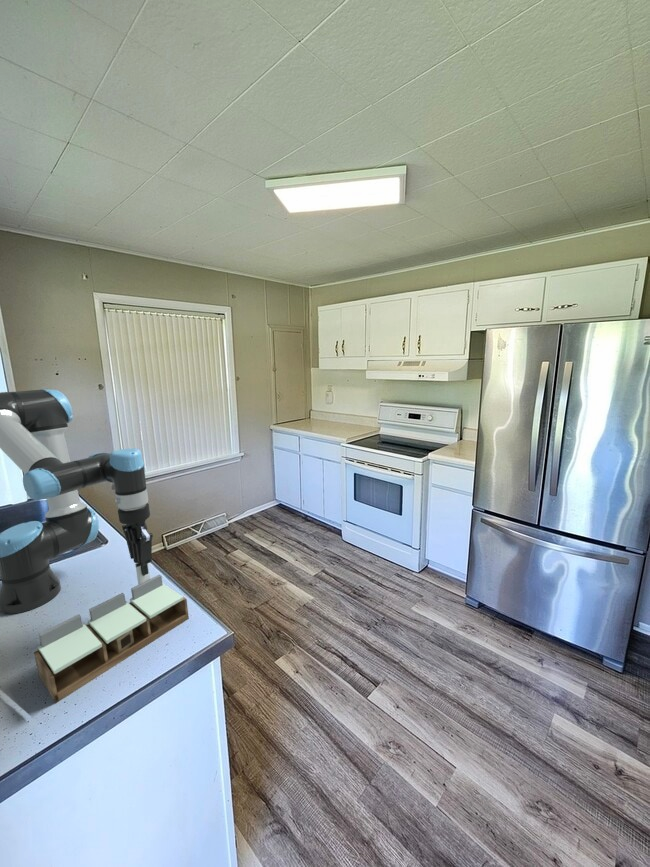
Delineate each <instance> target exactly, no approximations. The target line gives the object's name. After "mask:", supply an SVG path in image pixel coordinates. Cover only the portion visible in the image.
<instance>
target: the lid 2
mask: <svg viewBox="0 0 650 867" xmlns="http://www.w3.org/2000/svg"><path fill="white" fill-rule="evenodd" d="M129 603H130V602H128V601H127V600H126V595H125V594H124V592H121V593H119V594H117V595H115V596H113V597H111V598H109V599H106V600H105V601H103V602H101V603H98V604H97V605H94V606H92V607H90V608H89V609H88V611H89V612H88V613H89V615H90V616H89V617H90V619H88V620H87V625H88V624H89V625H90V626H91V627H92V628H93V629H94V630H95V631H96V632H97V633H98V634H99V636H100V637H101V638H102V639H103V640H104V641H105V642H106V643H107V644H108V643H109V642H111V641H113V640H114V639H116V638H118V637H120V636H121V635H123V634H125V633H126V632H128V631H130V630H132V629H133V628H135V627H137V626H139V625H140V624H142V623H144V622H145V621H146V618H145V617H144V616H143V615H142V614H141V613H139V612H138V611H137V610H136V609H135V608H134V607H132V606H131V605H130V604H129Z"/></svg>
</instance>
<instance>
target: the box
mask: <svg viewBox="0 0 650 867" xmlns="http://www.w3.org/2000/svg"><path fill="white" fill-rule="evenodd" d="M171 589H172V590H174V589H173V588H171ZM174 591H175V590H174ZM175 592H177V591H175ZM128 603H129V604H130V605H131V606H132V607H134V608H135V609H136V610H137V611H138V612H139V613H141V614H142V615H143V616H144V617H145V618H146V621H145V622H144V623H142V624H140V625H139V626H137V627H135V628H133V629H132V631H133V638H134V643H133V644H131V645H130V646H129V647H127V648H126V649H125V650H123V651H122V652H121V653H117V652H115V651H114V650H112V649H110V648H109V643H108V644H107V643H106V642H105V641H104V640H103V639H102V638H101V637H100V636H99V634H98V633H97V632H96V631H95V630H94V629H93V628H92V627H91V626H90V625H89V624H88V623H87V624H85V625H86V626H87V628H88V629H89V630H90V631H91V632H92V633H93V634H94V635H95V636H96V638H97V639H98V640H99V641H100V642H101V643H102V647H101V648H99V649H97V650H95V651H94V652H92V653H90V654H89V655H87V656H85V657H83V658H82V659H80V660H78V661H77V662H75V663H73V664H71V665H70V666H68V667H66V668H65V669H63V670H61V671H59V672H58V673H56V674H54V673H53V671H52V670H51V668H50V667H49V665H48V664H47V662H46V660H45V659H44V657H43V656H42V654H41V653H40V651H39V650H36V651H34V652H33V653H34V659H35V663H36V668H37V674H38V676H39V678H40V679H41V681H42V683H43V685H44V686H45V688H46V690H47V692H48V694H49V695H50V697H51V698H52V700H53V702H54V703H55V704H57V703H59V702H60V701H62V700H63V699H65V698H67V697H68V696H70V695H72V694H73V693H75V692H76V691H78V690H80V689H81V688H82V687H84V686H85V685H87V684H89V683H90V682H92V681H93V680H95V679H96V678H98V677H100V676H101V675H102V674H104V673H106V672H107V671H109V670H111V669H113V668H114V667H115V666H117V665H119V664H120V663H121V662H124V661H125V660H127V659H128V658H129V657H131V656H133V655H134V654H136V653H137V652H139V651H141V650H142V649H144V648H145V647H147V646H148V645H150V644H152V643H153V642H154V641H156V640H158V639H159V638H161V637H162V636H164V635H166V634H167V633H169V632H170V631H171V630H173V629H175V628H177V627H178V626H180V625H182V624H183V623H185V622H186V621H188V620H189V619H190V618H189V617H190V616H189V607H188V600H187V598H186V597H184V596H183V600H182V601H180V602H178V603H176V604H175V605H173V606H171V607H170V608H168V609H166V610H164V611H163V612H161V613H159V614H157V615H156V616H154V617H152V618H151V619H150V618H149V617H148V616H147V615H145V614H144V613H143V612H142V611H141V610H140V609H138V608H137V607H136V606H135V605H134V604H132V603H131V602H130V601H129V602H128Z"/></svg>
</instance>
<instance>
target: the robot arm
mask: <svg viewBox="0 0 650 867" xmlns="http://www.w3.org/2000/svg"><path fill="white" fill-rule="evenodd" d="M73 414H74V412H73V408H72V405H71V402H70V401H69V399H68V398H67V396H66V395H64V393H62V392H61V391H60V390H57V389H44V388H43V389H42V388H41V389H34V390H32V389H31V390H20V391H19V390H18V391H2V392H0V450H1V451H2V452H3V453H4V454H5V455H6V456H7V457H8V458H9V459H10V460H11V461H12V462H13V464H15V465H16V466H17V467H18V469H20V470H21V471H22V473H23V474H24V475H23V477H22V484H23V485H22V486H23V488H24V491H25V492H26V495H27V497H28V498H30V499H31V500H34V501H41V500H45V499H46V502H47V506H48V511H47V512H46V513H45V515H44V518H45V521H44V522H43V523H41V521H37V520H31V521H27V522H22V523H19V524H16V525H12V526H11V527H9V528H7V529H5V530H3V531H2V532H1V533H0V580H1V587H0V612H1V613H3V614H6V613H7V614H8V615H12V614H13V615H14V614H21V613H24V612H28V611H31V610H33V609H34V610H35V609H36V608H38V607H41V606H42V605H43V606H44V605H45V604H47V603H48V602H50V601H51V600H53V599H54V598H56V597H57V596H58V595H59V593H60V592H61V590H62V587H61V586H62V585H61V581H60V579H59V578H58V576H57V575H56V573H54V571H53V570H52V568H51V564H50V560H51V559H53V558H56V557H59V556H61V555H63V554H65V553H67V552H70V551H73V550H75V549H77V548H81V547H83V546H85V545H87V544H89V543H92V542H93V541H94V540H95V539H96V538H97V536H98V534H99V528H100V525H99V519H98V516H97V515H96V512H95V510H93V508H90V507H88V505H87V504H85V503H84V502H82V501H81V499H80V495H79V491H78V490H80V489H84V488H88V487H91V486H95V485H98V484H103V483H106V482H107V483H112V484H113V489H114V494H115V499H114V502H115V503H116V506H117V508H118V509H117V515H118V521H119V523H121V524H122V525H121V528H122V531H123V534H124V537H125V541H126V545H127V548H128V552H129V556H130V557H129V558H130V559H131V560H133V563H134V565H135V569H136V570H135V572H136V577H137V583H138V584H137V585H139V584H141V583H143V582H145V581H147V580H149V579H151V577H150V569H149V564H150V563H152V560H153V556H152V554H153V550H152V549H153V548H152V545H153V544H152V543H153V542H152V540H153V537H154V535H153V533H152V532H150V533H148V526H147V524H146V523H147V522H146V520H147V519H149V518H150V516H151V511H150V504H149V503H148V502H149V494H148V488H147V483H146V481H147V480H146V473H145V471H146V470H145V463H144V459H143V454H142V451H141V450H140V449H138V448H122V449H121V448H120V449H118V450H113V451H112V452H111V453H110V452H95V453H92V454H91V455H88V457H86V458H82V459H76V460H72V461H71V457H70V453H69V449H68V446H67V445H68V444H67V440H66V437H65V433H66V431H67V430H68V429H69V427H68V426H69V425H68V424H69V423H70V422H72V421H73V418H74V417H73ZM7 614H6V615H7Z"/></svg>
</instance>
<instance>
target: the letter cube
mask: <svg viewBox="0 0 650 867" xmlns="http://www.w3.org/2000/svg"><path fill="white" fill-rule="evenodd" d="M133 643H134V638H133V631H132V630H130V631H128V632H126V633H125V634H123V635H121V636H120V637H118V638H116V639H114V640H113V641H111V642H109V648H110V649H112V650H114V651H115V652H117V653H121V652H122V651H123V650H125V649H126V648H127V647H129V646H130V645H131V644H133Z"/></svg>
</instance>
